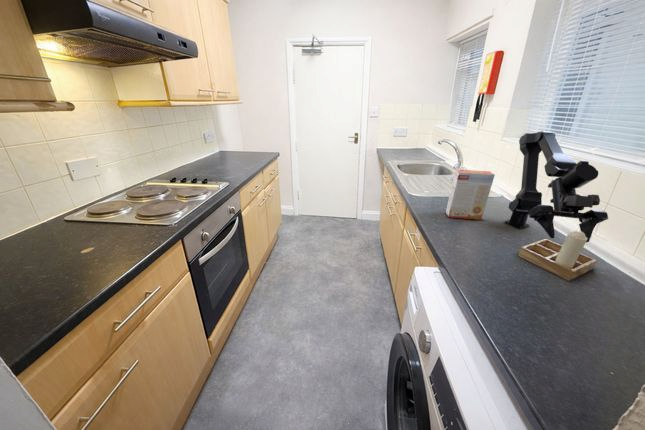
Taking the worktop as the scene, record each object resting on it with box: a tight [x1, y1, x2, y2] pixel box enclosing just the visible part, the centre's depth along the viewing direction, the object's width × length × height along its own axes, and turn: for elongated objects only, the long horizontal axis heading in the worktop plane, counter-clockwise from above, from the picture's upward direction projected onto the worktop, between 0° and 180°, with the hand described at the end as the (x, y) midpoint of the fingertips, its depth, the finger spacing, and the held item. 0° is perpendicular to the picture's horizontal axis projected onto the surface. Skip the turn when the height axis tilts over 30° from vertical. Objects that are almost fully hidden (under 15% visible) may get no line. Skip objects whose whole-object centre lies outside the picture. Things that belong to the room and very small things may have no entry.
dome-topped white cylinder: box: [555, 230, 588, 270], centre depth 81 cm, size 4×4×14 cm
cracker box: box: [445, 168, 496, 221], centre depth 115 cm, size 14×6×21 cm, turn 80°
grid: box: [517, 238, 598, 282], centre depth 88 cm, size 15×15×3 cm
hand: (569, 240), depth 82 cm, fingers open, 9 cm apart
